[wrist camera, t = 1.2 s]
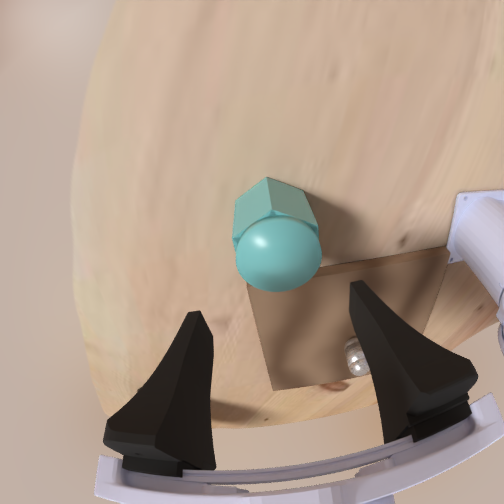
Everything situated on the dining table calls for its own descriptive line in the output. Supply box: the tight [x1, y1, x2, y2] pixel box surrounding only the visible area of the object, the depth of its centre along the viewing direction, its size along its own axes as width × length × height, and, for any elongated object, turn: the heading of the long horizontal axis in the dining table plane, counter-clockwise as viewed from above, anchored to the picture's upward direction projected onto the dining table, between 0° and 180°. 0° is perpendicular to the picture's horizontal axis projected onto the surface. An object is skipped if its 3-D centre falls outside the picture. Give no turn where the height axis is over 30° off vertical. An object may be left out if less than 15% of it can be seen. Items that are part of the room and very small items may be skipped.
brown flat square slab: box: [247, 246, 451, 391], centre depth 29 cm, size 20×20×1 cm
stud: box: [344, 337, 370, 376], centre depth 27 cm, size 2×2×5 cm
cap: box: [232, 177, 322, 292], centre depth 19 cm, size 5×6×6 cm
